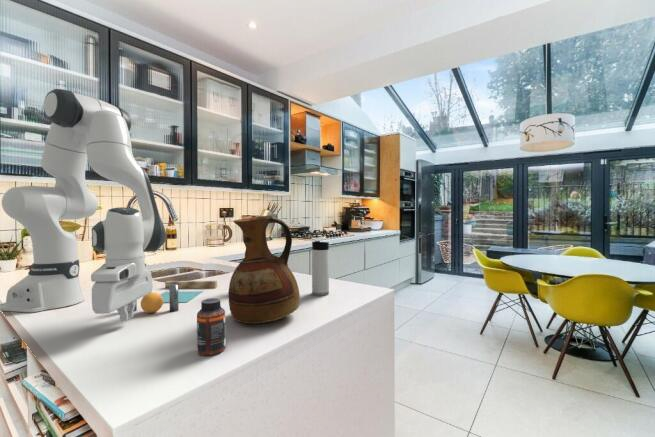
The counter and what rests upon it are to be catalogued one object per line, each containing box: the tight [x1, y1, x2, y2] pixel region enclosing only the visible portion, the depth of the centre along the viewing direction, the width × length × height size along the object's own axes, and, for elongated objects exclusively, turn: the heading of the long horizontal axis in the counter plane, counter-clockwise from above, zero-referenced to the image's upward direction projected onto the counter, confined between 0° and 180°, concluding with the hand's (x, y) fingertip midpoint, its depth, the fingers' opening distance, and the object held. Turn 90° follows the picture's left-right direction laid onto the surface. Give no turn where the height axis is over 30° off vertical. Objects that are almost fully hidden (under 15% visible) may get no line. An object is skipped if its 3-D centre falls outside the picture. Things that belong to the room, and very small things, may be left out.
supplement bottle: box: [196, 297, 227, 356], centre depth 69 cm, size 6×6×11 cm
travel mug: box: [311, 240, 330, 297], centre depth 115 cm, size 6×7×20 cm
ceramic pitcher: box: [227, 214, 301, 324], centre depth 90 cm, size 20×20×30 cm
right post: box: [168, 284, 180, 313], centre depth 97 cm, size 2×2×8 cm
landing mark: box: [159, 290, 203, 304], centre depth 112 cm, size 14×14×1 cm
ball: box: [140, 292, 164, 314], centre depth 95 cm, size 6×6×6 cm
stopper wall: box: [164, 280, 218, 289], centre depth 125 cm, size 20×2×2 cm, turn 91°
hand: (126, 319), depth 84 cm, fingers closed
